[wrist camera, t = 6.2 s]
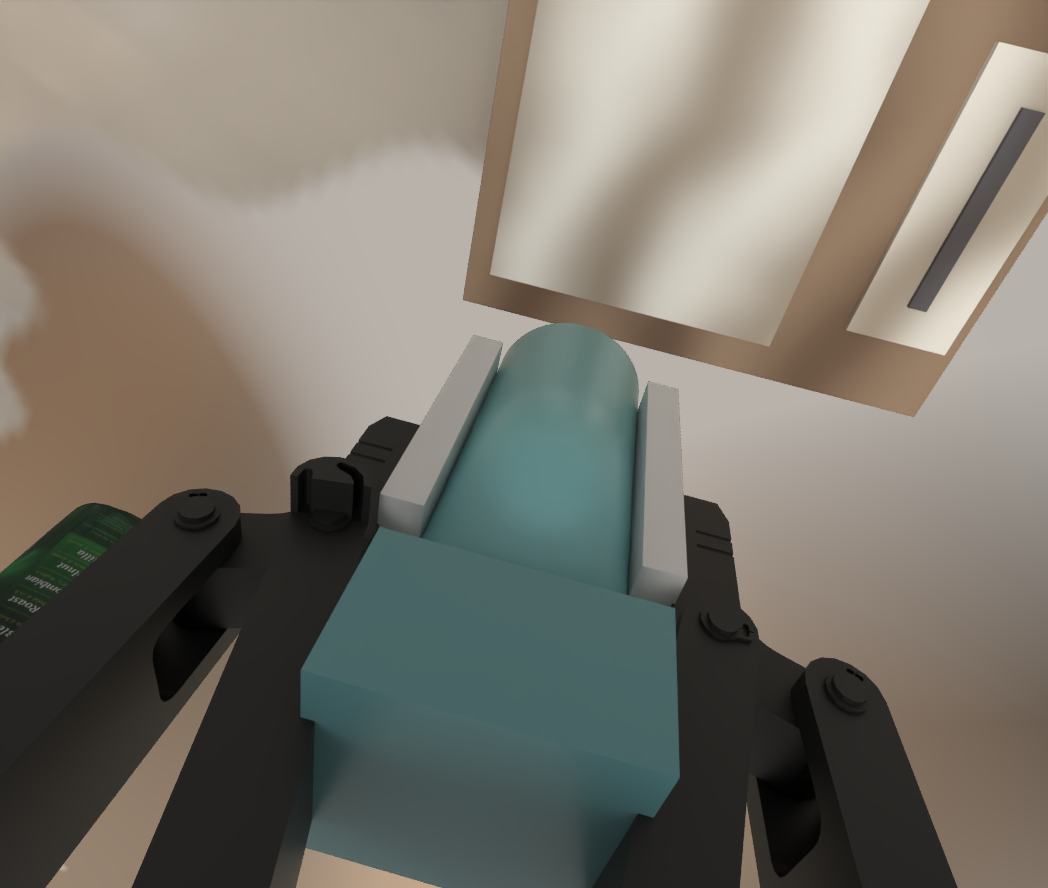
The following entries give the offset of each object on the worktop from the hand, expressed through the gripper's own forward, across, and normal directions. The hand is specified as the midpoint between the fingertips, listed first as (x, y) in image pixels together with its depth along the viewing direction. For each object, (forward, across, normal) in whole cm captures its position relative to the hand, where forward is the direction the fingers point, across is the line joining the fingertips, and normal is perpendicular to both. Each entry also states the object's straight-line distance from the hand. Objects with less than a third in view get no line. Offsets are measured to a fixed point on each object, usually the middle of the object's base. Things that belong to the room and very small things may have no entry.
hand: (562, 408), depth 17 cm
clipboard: (+13, +5, +5) cm, 15 cm away
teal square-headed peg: (+1, 0, 0) cm, 1 cm away
